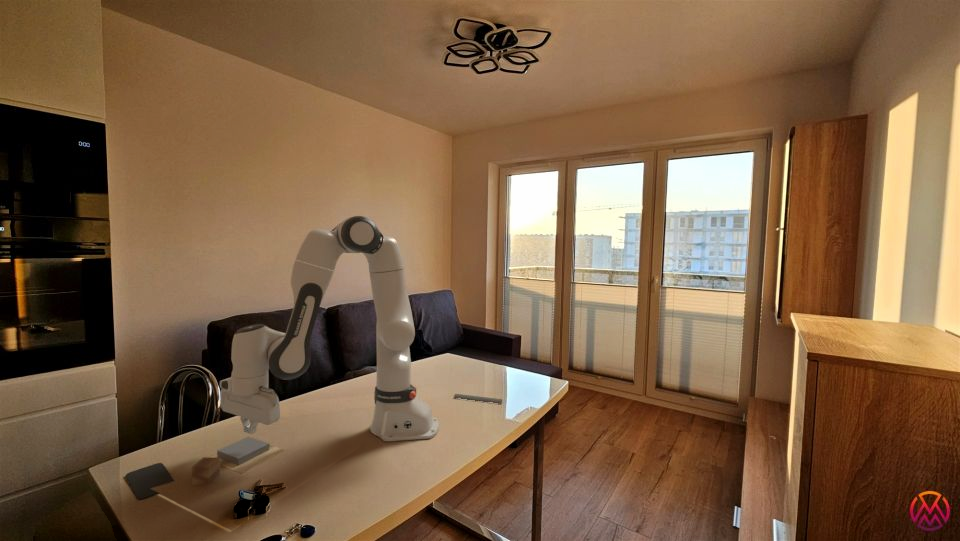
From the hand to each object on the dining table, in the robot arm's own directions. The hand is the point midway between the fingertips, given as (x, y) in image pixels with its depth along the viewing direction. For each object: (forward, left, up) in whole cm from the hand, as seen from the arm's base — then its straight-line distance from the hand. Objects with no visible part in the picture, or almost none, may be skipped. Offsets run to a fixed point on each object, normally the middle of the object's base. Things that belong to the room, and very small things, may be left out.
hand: (250, 432), depth 106 cm
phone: (+17, +12, -8) cm, 22 cm away
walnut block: (+4, +11, -7) cm, 14 cm away
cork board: (+1, -1, -7) cm, 7 cm away
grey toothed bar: (-65, -46, -8) cm, 80 cm away
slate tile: (-2, +1, -6) cm, 6 cm away
